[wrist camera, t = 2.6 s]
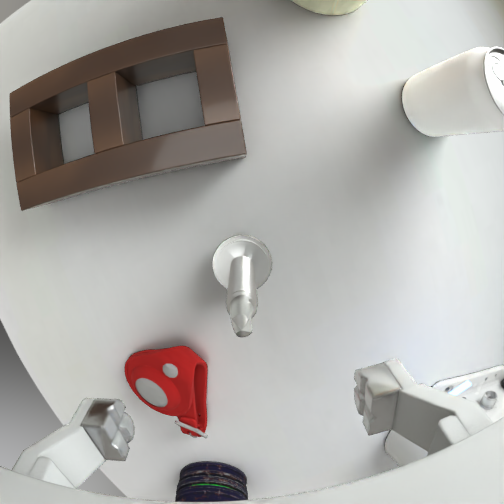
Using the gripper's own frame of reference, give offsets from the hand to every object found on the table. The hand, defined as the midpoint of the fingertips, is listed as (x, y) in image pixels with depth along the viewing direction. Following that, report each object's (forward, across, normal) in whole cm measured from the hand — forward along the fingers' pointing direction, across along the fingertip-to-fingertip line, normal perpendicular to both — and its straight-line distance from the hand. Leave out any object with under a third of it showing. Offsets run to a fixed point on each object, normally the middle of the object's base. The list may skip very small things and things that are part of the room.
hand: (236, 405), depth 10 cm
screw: (+19, 0, 0) cm, 19 cm away
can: (+19, +20, +12) cm, 30 cm away
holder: (+19, -8, +14) cm, 25 cm away
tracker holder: (+19, -10, -13) cm, 25 cm away
